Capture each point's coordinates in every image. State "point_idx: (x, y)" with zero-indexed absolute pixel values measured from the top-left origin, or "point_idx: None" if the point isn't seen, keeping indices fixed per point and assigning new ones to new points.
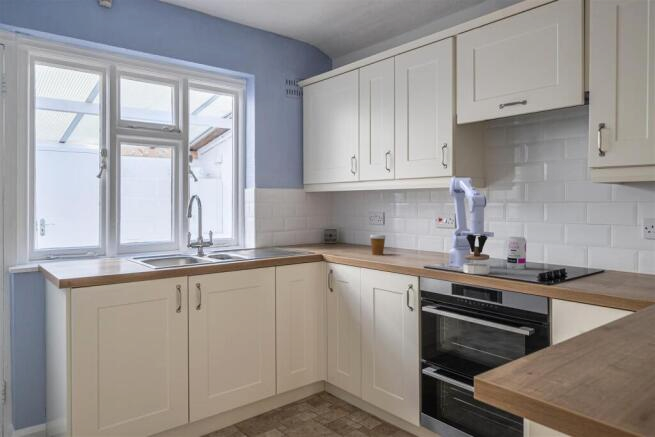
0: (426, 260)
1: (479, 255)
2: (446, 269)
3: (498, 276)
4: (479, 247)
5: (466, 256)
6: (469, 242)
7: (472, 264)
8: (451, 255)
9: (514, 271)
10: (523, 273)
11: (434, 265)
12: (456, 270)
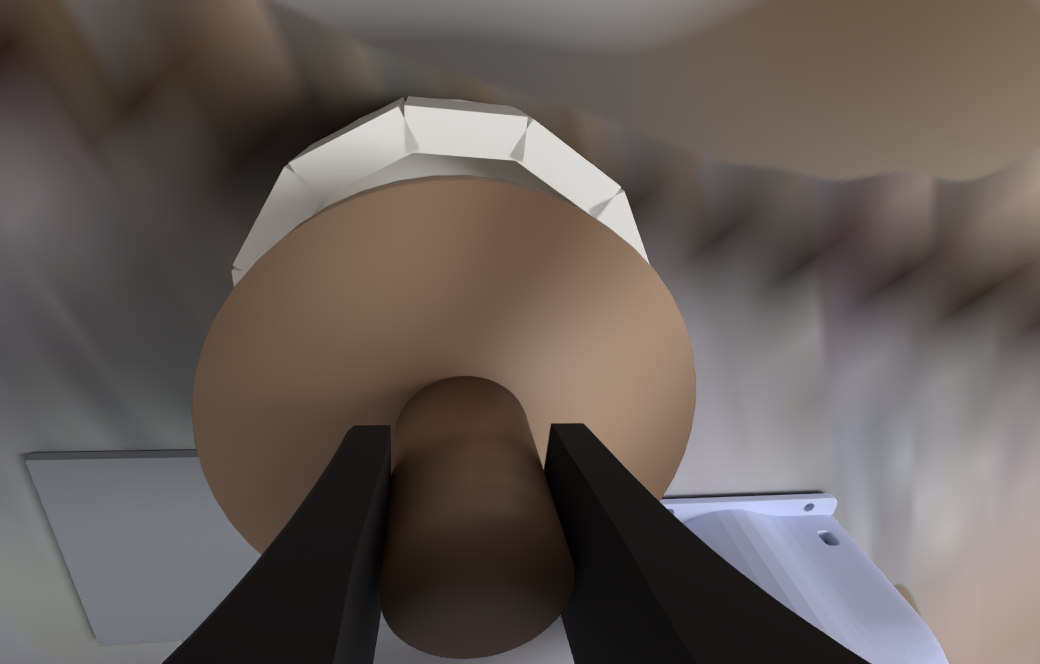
0: (1018, 638)
1: (399, 424)
2: (835, 311)
3: (48, 164)
4: (338, 512)
5: (644, 283)
6: (763, 613)
7: None
8: (890, 609)
9: (124, 580)
10: (12, 572)
11: (963, 470)
12: (717, 313)
